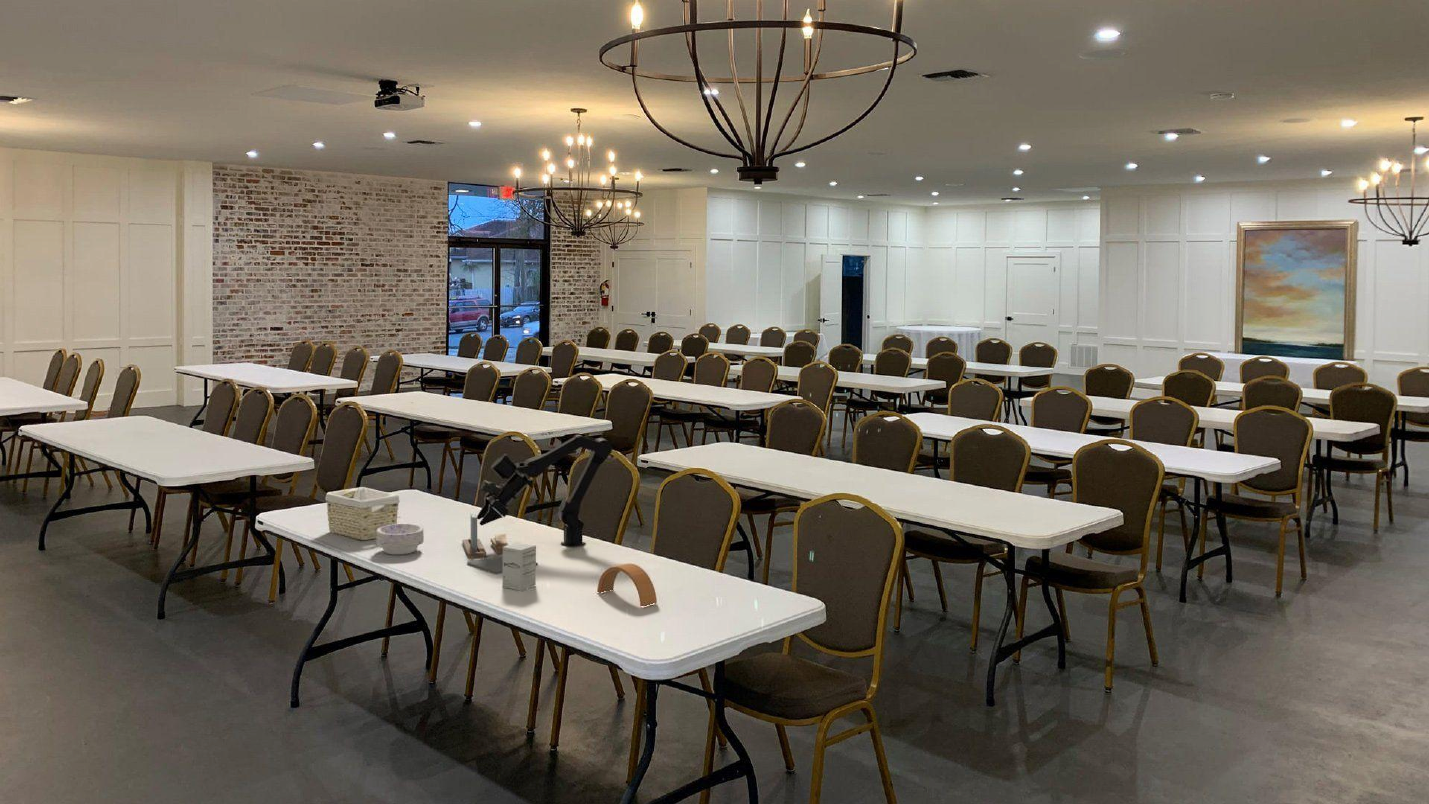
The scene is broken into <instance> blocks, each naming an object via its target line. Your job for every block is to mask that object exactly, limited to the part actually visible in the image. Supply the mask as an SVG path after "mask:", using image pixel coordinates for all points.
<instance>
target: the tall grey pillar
mask: <svg viewBox="0 0 1429 804" xmlns="http://www.w3.org/2000/svg"><path fill="white" fill-rule="evenodd" d="M477 516H478V515H477V513H470V539H471V544H470V546H471V548H472V550H473V553H475V552H478V550H477V539H478V519H477Z"/></svg>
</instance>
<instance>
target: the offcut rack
mask: <svg viewBox="0 0 1429 804" xmlns="http://www.w3.org/2000/svg"><path fill="white" fill-rule="evenodd" d="M494 535H495V536H494V537H493V538H492V537H491V538H490V543H492V544H491V545H493V546H492V547H493V549H494V551H495V553H496V556H499V555H498V554H502V555H503V547H504V546H507V545H509V544H508V540H507V535H506V534H494ZM461 540H462V542H461V543H462V545H463V549H464V551H465V553H466V556H467V559H474V558H477V557H478V558H487V552H486V549H485V547H484V545H483V544H482V541H481V540H480V538H477V552H475V553H473V550H472V548H471V538H470V539H469V538H468V539H467V538H466V539H461ZM478 558H477V559H478Z"/></svg>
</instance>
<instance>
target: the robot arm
mask: <svg viewBox="0 0 1429 804" xmlns="http://www.w3.org/2000/svg"><path fill="white" fill-rule="evenodd" d="M580 448H582V449H585V450H588V451H590V452H589V457H588V460H587V463H586V465H585V467H584V469H583V471H582V473H581V474H580V477H579V478H578V481H577V483H576V484H575V487H574V489H573V491H572V492H571V494H570V496H569V497H568V498H567V499H565V498H562V500H561V503H560V504H559V506H558V507H557V510H558V512H557V515H558V518H559V519H560V520H561V523H563V525H564V526H563V541H562V542H561V541H560V545H564V546H566V547H571V548H574V547H579V546H584V545H586V544H587V542H585V541H583V532H584V531H583V528H584V524H585V523H584V522H583V521H582V520H581V518H580V517H579V515H580V511H581V506H582V502H583V500H584V497H585V496H586V494H587V491H588V490H589V488H590V486H591V483H592V482H593V480H594V477H595V476H596V474H597V472H598V470H599V467H600V466H601V465H603V463H604V462H605V461H606V460H607V459H608V458H609V456H610V455H611V454H612V452H613V446H612V443H611V442H610V441H608V440H607V439H605V438H603V437H599V438H593V437H588V436H583V435H582V434H575V435H574V436H573V437H572V438H570V439H568V440H567V441H565V442H562V443H561V444H559V445H558V446H556V447H554V448H552V449H550V450H549V451H548V452H546V453H542V454H539V455H535V456H533V457H530V458H527V459H526V460H525V461H523V462H517V463H515V462H514V461H512V460H511V459H510V457H509V456H508V455H507V454H506V453H505V454H503V455H502V456H501V457H499V458H497V459H496V460H495V461H494V462H493V463H492V464H491V466H490V469H491V470H492V471H493V472H494V473H495V474H496V475H497V476H498V477H499V478H501V480H504V479H506V481H505V483H501V484H499V485H497V484H496V482H492V481H488V480H486V479H484V480H483V482H482V484H481V485H480V487H479V489H480V490H481V491H482V492H484V493H485V494H484V495H485V496H484V504H483V505H482V507H481V509H480V510H479V512H478V514H477V515H476V516H477V521H478V520H480V522H479V525H480V526H484V525H486V524H488V523H492V522H494V521H496V520H499V519H503V518H505V517H506V516H508V514H509V509H508V507H509V506H508V505H509V503H510V504H511V502H512V501H513V500H516V499H517V498H518V497H517V496H518V495H519V494H520V493H521V492H522V491H523V490H524V489H525V488H526V487H527V486H528V487H529V488H530V489H533V488H534V480H533V479H535V478H537V477H539V476H540V475H542V474H543V473H544V472H545V471H546V470H547V469H548V468H549V467H550V466H551V465H553V464H554V463H556V462H557V461H559V460H561V459H563V458H564V457H566V456H568V455H569V454H571V453H573V452H575V451H576V450H578V449H580ZM518 472H519V473H518ZM527 476H528V477H529V478H528V477H527ZM530 478H531V479H530Z"/></svg>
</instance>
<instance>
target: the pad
mask: <svg viewBox="0 0 1429 804" xmlns="http://www.w3.org/2000/svg"><path fill="white" fill-rule="evenodd" d="M466 564H467V565H469V566H470V565H471V566H470V567H474V568H476V569H479V568H480V570H482V571H486V572H488V571H490V572H489V573H491V572H492V574H495V575H499V574H503V554H502V555H495V556H490V557H483V558H479V559H476V560H470V561H467V562H466ZM536 565H537V566H538V565H539V562H537V561H536Z"/></svg>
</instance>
